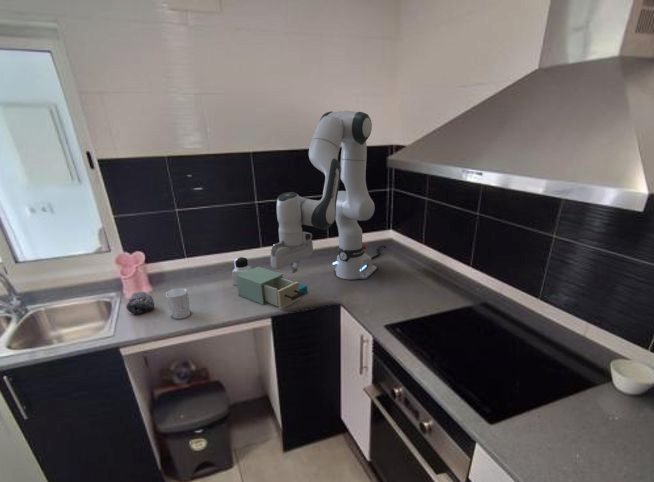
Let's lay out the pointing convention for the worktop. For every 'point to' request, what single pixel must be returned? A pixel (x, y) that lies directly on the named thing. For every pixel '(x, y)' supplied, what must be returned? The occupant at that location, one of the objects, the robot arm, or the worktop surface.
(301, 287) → the blue cube
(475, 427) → the worktop surface
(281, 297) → the drawer with handle
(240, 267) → the astronaut figurine
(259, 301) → the drawer cabinet
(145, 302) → the pumice stone
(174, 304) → the white cup
